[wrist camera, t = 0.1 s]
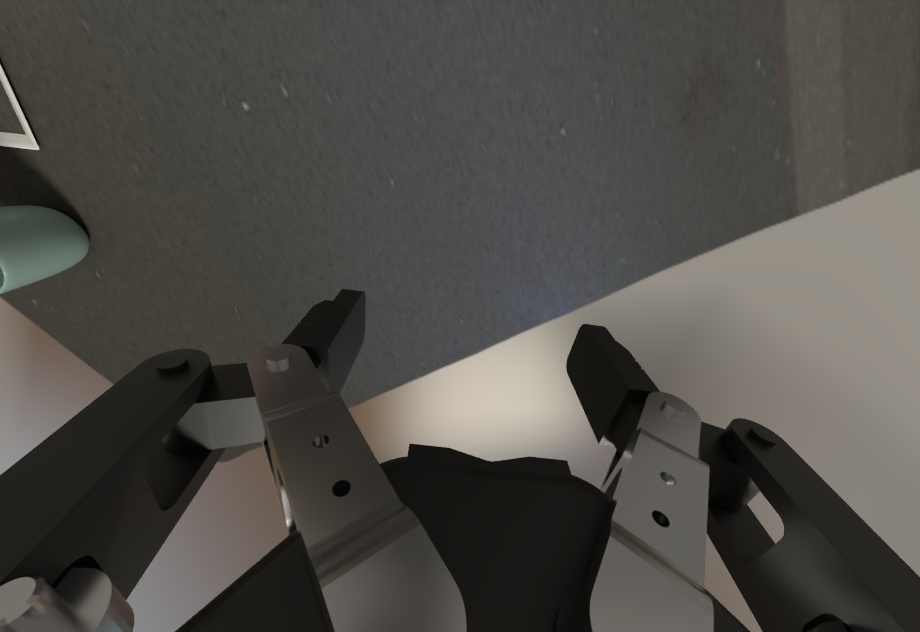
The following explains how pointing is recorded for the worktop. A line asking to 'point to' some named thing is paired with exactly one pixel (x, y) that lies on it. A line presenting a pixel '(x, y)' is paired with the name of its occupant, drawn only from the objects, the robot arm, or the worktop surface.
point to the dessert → (18, 139)
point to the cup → (37, 244)
